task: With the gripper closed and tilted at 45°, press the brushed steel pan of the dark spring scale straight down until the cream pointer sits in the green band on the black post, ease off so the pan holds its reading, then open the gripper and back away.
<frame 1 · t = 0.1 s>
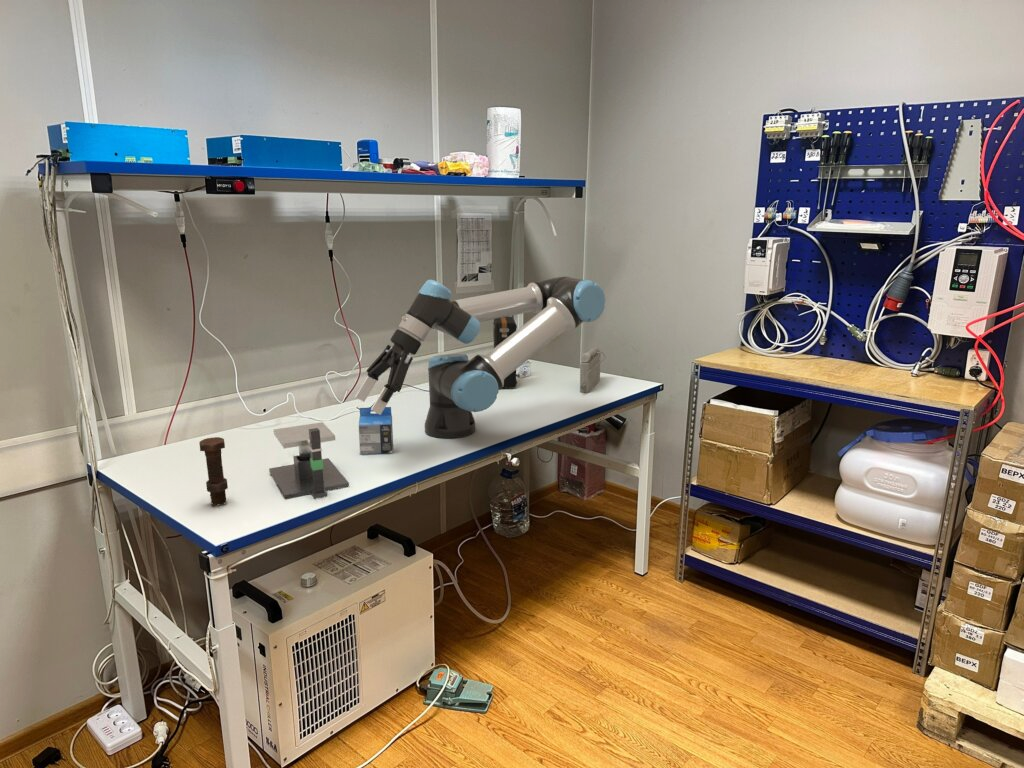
hand: (367, 405, 178), 15 cm above the table, tool tilted 35°, fingers open, 13 cm apart
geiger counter: (590, 388, 254), on the table
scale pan: (306, 447, 167), point 9 cm above the table, slide at 0.0 cm
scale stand: (307, 478, 171), on the table
black case: (504, 385, 259), on the table
label tape box: (377, 452, 189), on the table
bolt: (219, 504, 157), on the table
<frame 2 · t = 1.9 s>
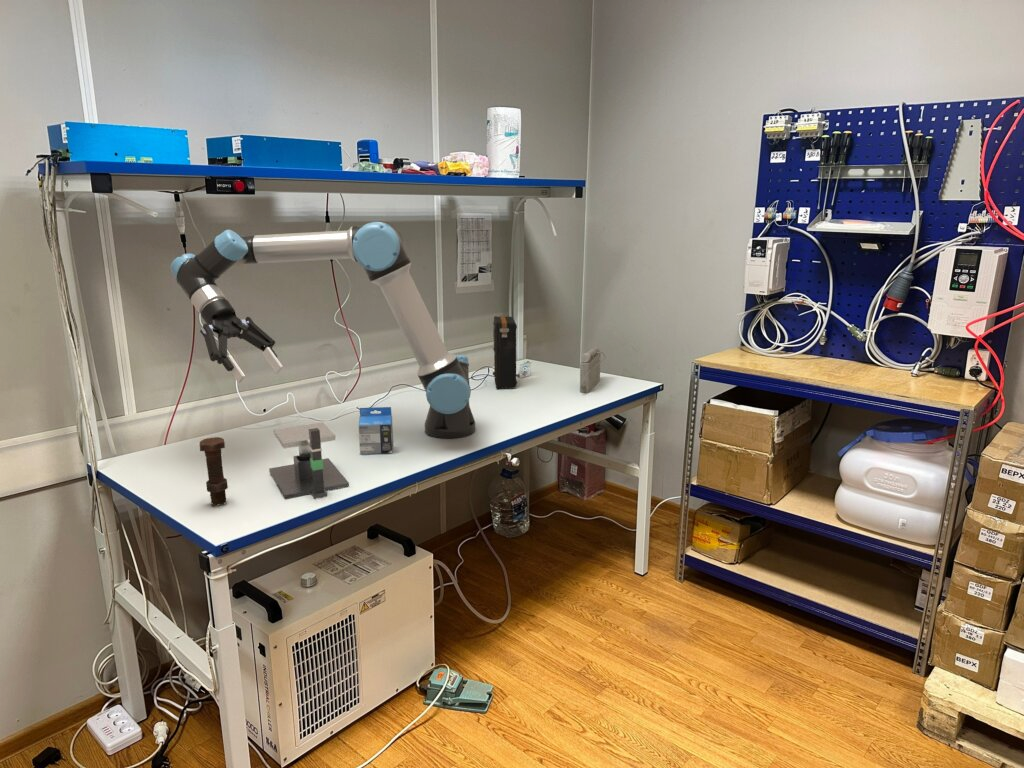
hand: (261, 374, 171), 25 cm above the table, tool tilted 45°, fingers open, 11 cm apart
nothing on the table moved.
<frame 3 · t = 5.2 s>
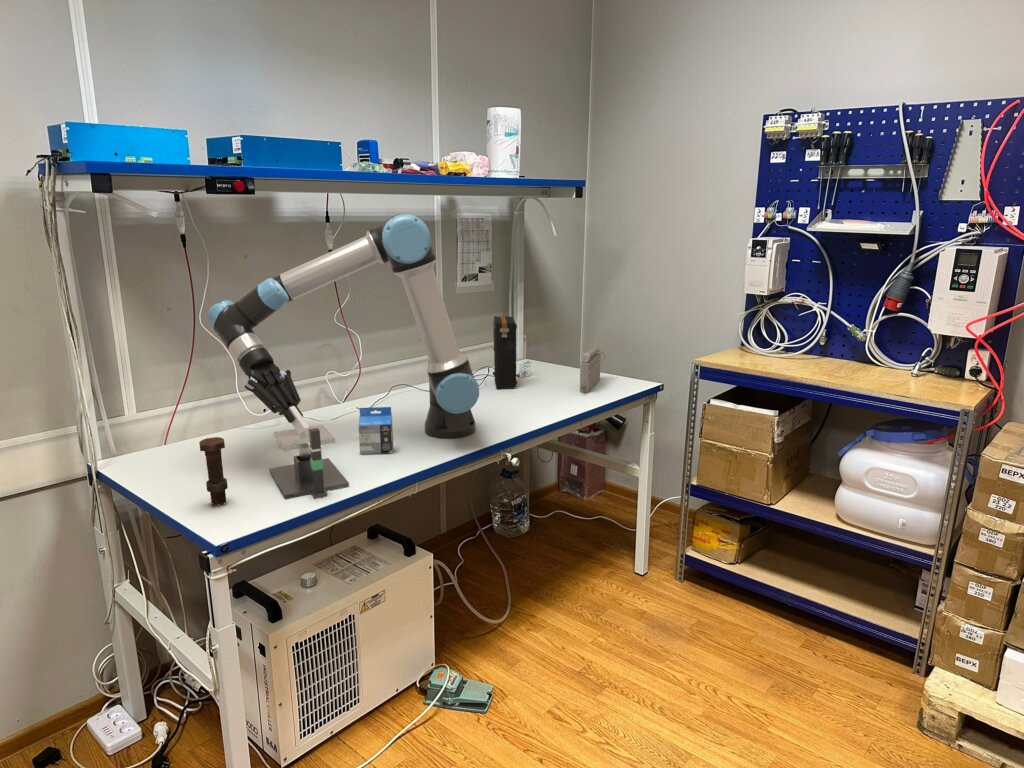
hand: (304, 430, 167), 13 cm above the table, tool tilted 45°, fingers closed
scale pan: (307, 450, 167), point 8 cm above the table, slide at -0.7 cm, touching gripper
everything else where it was.
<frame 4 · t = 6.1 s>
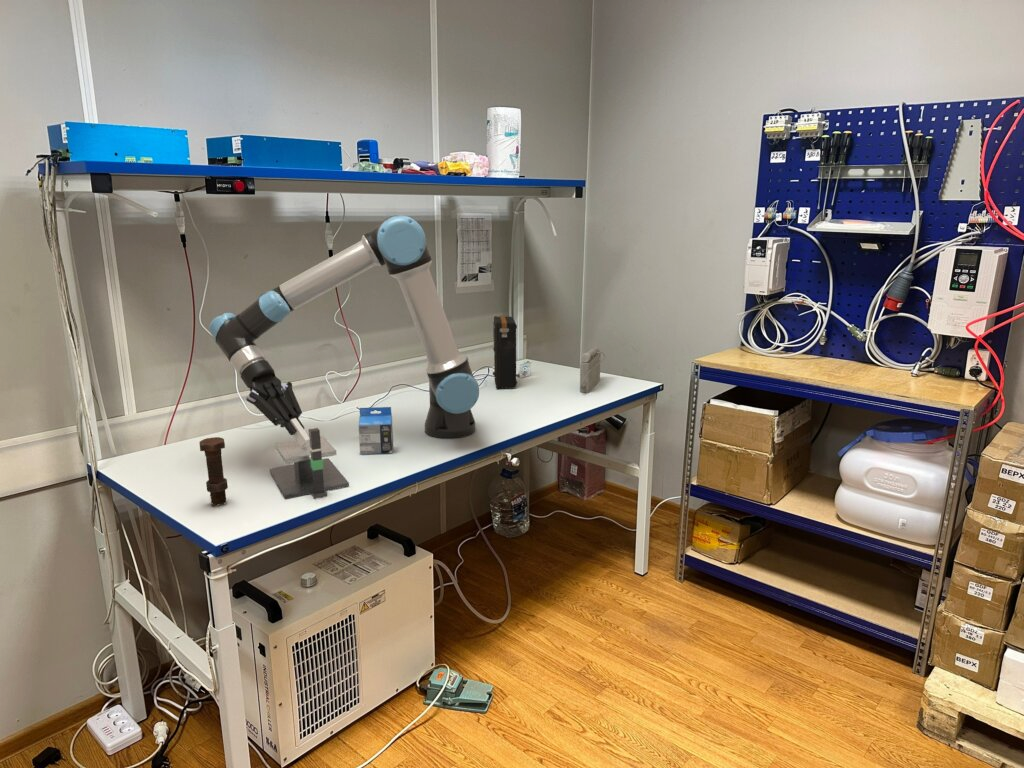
hand: (305, 442, 168), 9 cm above the table, tool tilted 45°, fingers closed
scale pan: (308, 462, 168), point 5 cm above the table, slide at -3.8 cm, touching gripper
everything else where it was.
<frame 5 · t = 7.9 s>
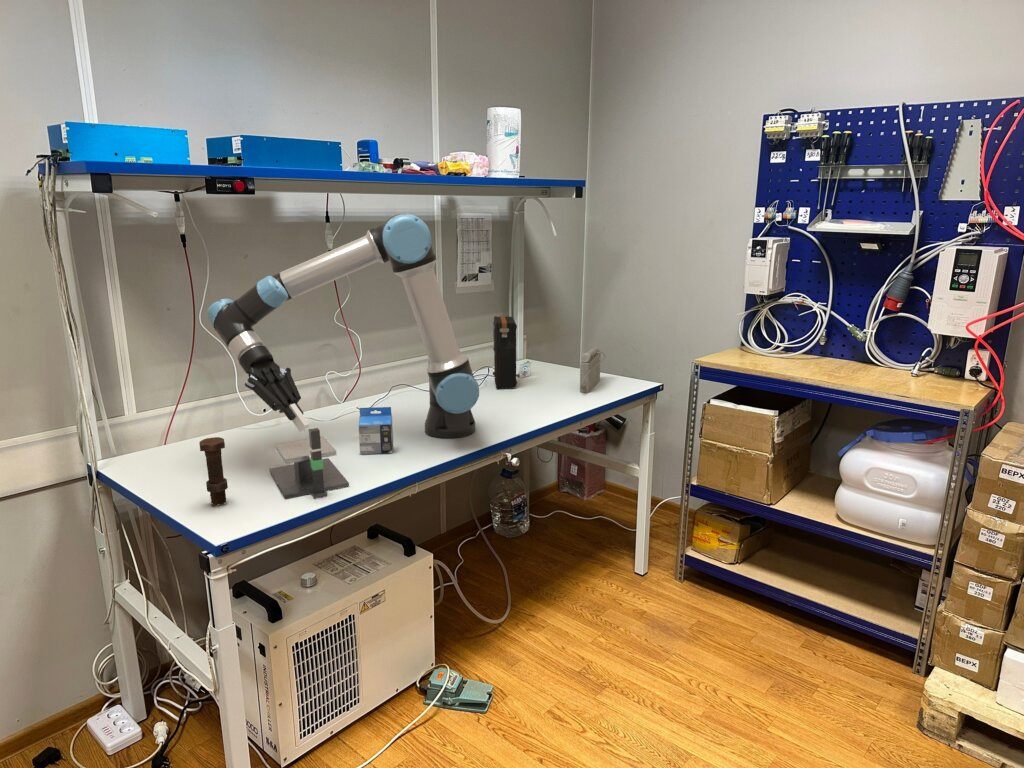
hand: (304, 428, 167), 13 cm above the table, tool tilted 45°, fingers closed
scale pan: (308, 462, 168), point 5 cm above the table, slide at -3.9 cm
everything else where it was.
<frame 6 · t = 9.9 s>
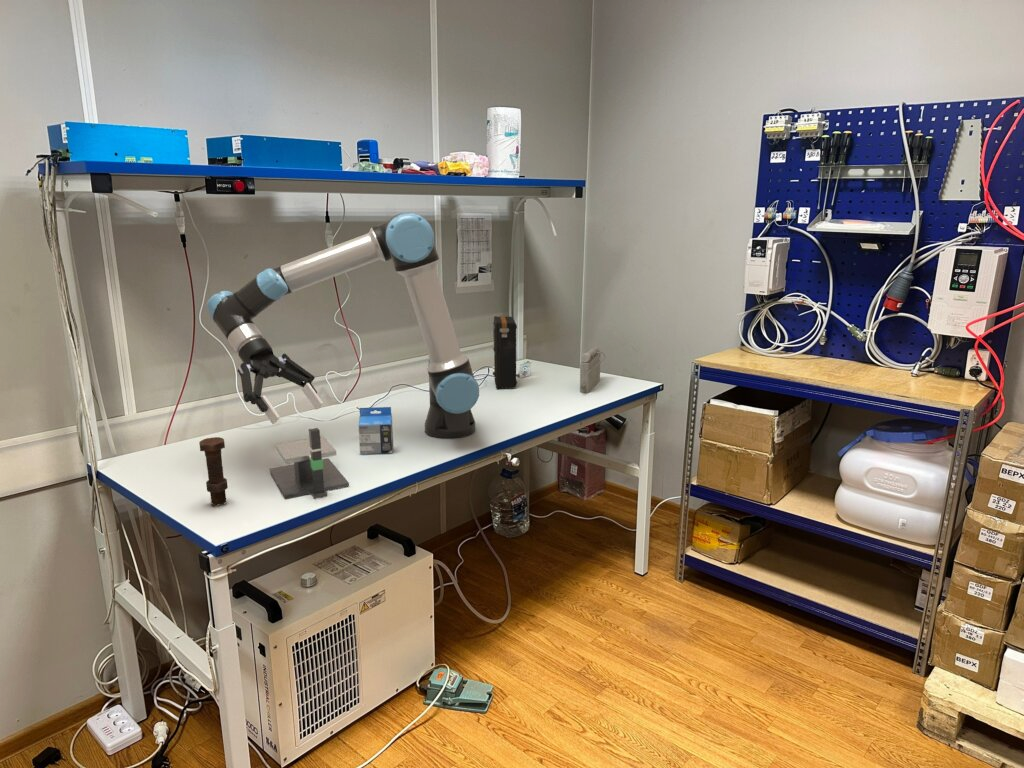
hand: (298, 413, 167), 17 cm above the table, tool tilted 45°, fingers open, 13 cm apart
nothing on the table moved.
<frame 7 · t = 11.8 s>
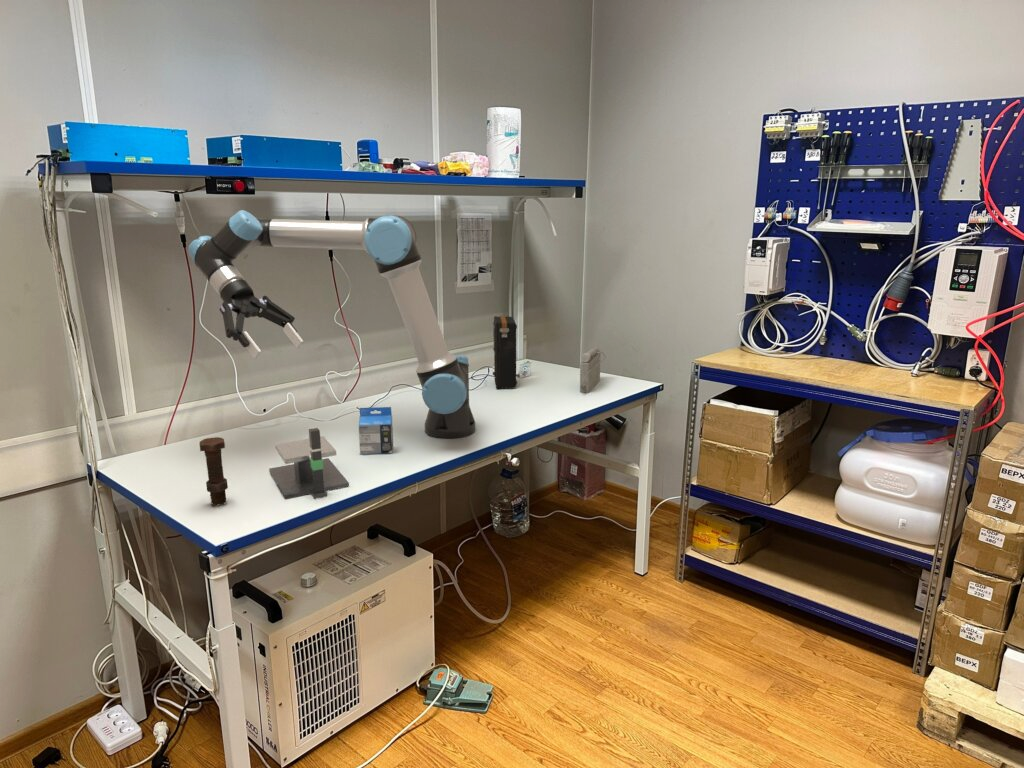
hand: (279, 349, 174), 30 cm above the table, tool tilted 45°, fingers open, 13 cm apart
nothing on the table moved.
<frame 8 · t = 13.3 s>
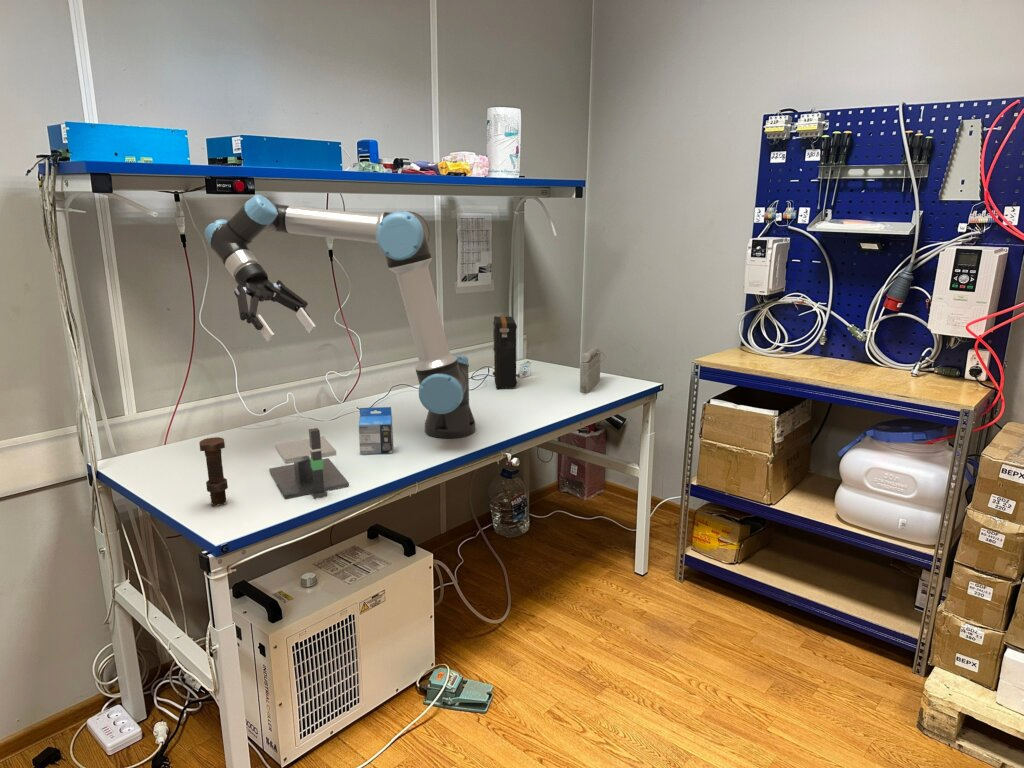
hand: (292, 333, 176), 34 cm above the table, tool tilted 45°, fingers open, 13 cm apart
nothing on the table moved.
at the end: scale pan slide at -3.9 cm; bolt moved 0.2 cm from its start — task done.
